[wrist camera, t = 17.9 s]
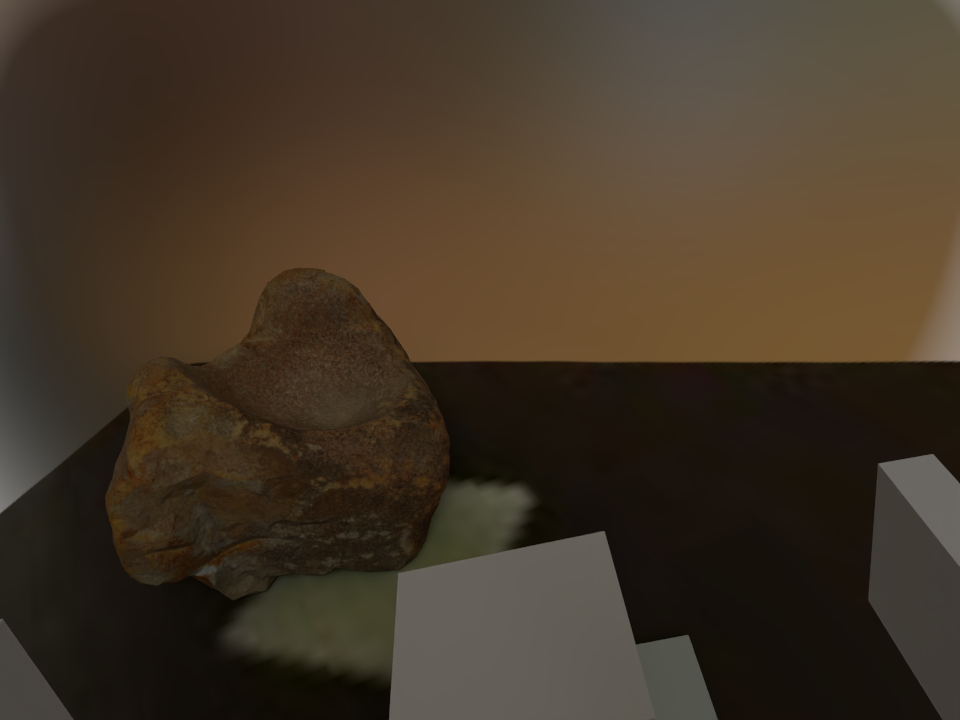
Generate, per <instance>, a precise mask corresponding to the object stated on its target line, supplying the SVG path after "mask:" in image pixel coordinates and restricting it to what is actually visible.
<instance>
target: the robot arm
mask: <svg viewBox="0 0 960 720" xmlns="http://www.w3.org/2000/svg"><path fill="white" fill-rule="evenodd" d="M868 600H869V602H870V604H871V605H872V607H873V608H874V610H875V612H876V613H877V615H878V616H879V618H880V620H881V621H882V623H883V624H884V626H885V628H886V629H887V631H888V633H889V634H890V636H891V637H892V639H893V641H894V642H895V644H896V645H897V647H898V649H899V650H900V652H901V653H902V655H903V657H904V658H905V660H906V662H907V663H908V665H909V666H910V668H911V670H912V671H913V673H914V674H915V676H916V678H917V679H918V681H919V682H920V684H921V686H922V687H923V689H924V690H925V692H926V694H927V695H928V697H929V699H930V700H931V702H932V703H933V705H934V707H935V708H936V710H937V711H938V713H939V715H940V716H941V718H942V719H943V720H960V483H959V482H958V481H957V480H956V479H955V478H954V477H953V476H952V475H951V474H950V472H949V471H948V470H947V469H946V468H945V467H944V466H943V465H942V464H941V463H940V461H939V460H938V459H937V458H936V457H935V456H934V455H933V454H931V455H925V456H920V457H914V458H908V459H903V460H897V461H891V462H886V463H880V464H878V475H877V488H876V502H875V516H874V529H873V543H872V557H871V570H870V584H869V598H868ZM0 720H73V718H72V717H71V715H70V714H69V713H68V711H67V710H66V708H65V707H64V705H63V704H62V703H61V701H60V700H59V698H58V697H57V696H56V694H55V693H54V691H53V690H52V688H51V687H50V686H49V684H48V683H47V681H46V680H45V678H44V677H43V676H42V674H41V673H40V671H39V670H38V669H37V667H36V666H35V664H34V663H33V661H32V660H31V659H30V657H29V656H28V654H27V653H26V651H25V650H24V649H23V647H22V646H21V644H20V643H19V641H18V640H17V639H16V637H15V636H14V634H13V633H12V632H11V630H10V629H9V627H8V626H7V624H6V623H5V622H4V620H3V619H0Z"/></svg>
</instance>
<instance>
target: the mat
mask: <svg viewBox="0 0 960 720" xmlns="http://www.w3.org/2000/svg"><path fill="white" fill-rule="evenodd" d="M636 648H637V652H638V655H639V659H640V663H641V666H642V670H643V674H644V677H645V681H646V684H647V688H648V692H649V695H650V699H651V703H652V706H653V710H654V714H655V717H656V720H718V719H717V716H716V714H715V711H714V708H713V705H712V702H711V699H710V696H709V693H708V690H707V688H706V685H705V682H704V679H703V676H702V673H701V670H700V667H699V664H698V661H697V659H696V656H695V653H694V650H693V647H692V644H691V641H690V638H689V635H685V636H680V637H674V638H669V639H664V640H659V641H653V642H648V643H643V644H638V645H636Z"/></svg>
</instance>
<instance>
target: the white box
mask: <svg viewBox="0 0 960 720" xmlns="http://www.w3.org/2000/svg"><path fill="white" fill-rule="evenodd" d="M389 720H656V717H655V714H654V710H653V706H652V703H651V699H650V695H649V692H648V688H647V684H646V681H645V677H644V674H643V670H642V666H641V663H640V659H639V655H638V652H637V648H636V644H635V641H634V637H633V633H632V630H631V626H630V622H629V619H628V615H627V612H626V608H625V604H624V601H623V597H622V593H621V590H620V586H619V582H618V579H617V575H616V571H615V568H614V564H613V560H612V557H611V553H610V549H609V546H608V542H607V539H606V535H605V531H602V532H597V533H593V534H588V535H583V536H578V537H573V538H568V539H563V540H558V541H553V542H548V543H544V544H539V545H534V546H529V547H524V548H519V549H514V550H509V551H504V552H499V553H495V554H490V555H485V556H480V557H475V558H470V559H465V560H460V561H455V562H450V563H446V564H441V565H436V566H431V567H426V568H421V569H416V570H411V571H406V572H401V573H398V584H397V600H396V617H395V633H394V649H393V665H392V681H391V697H390V713H389Z"/></svg>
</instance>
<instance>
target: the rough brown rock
mask: <svg viewBox="0 0 960 720" xmlns="http://www.w3.org/2000/svg"><path fill="white" fill-rule="evenodd" d="M125 396H126V400H127V404H128V407H129V411H130V423H129V427H128V431H127V435H126V439H125V443H124V446H123V448H122V451H121V453H120V455H119V457H118V460H117V462H116V464H115V469H114V474H113V478H112V481H111V483H110V486H109V488H108V491H107V494H106V496H105V501H106V510H107V514H108V517H109V521H110V523H111V526H112V531H113V542H114V545H115V548H116V551H117V554H118V555H119V558H120V561H121V563H122V566H123V568H124V569H125V571H126V572H127V573H128V574H129V576H130V577H131V578H133V579H134V580H136V581H138V582H139V583H142V584H149V585H155V586H158V585H161V584H165V583H175V582H178V581H180V580H183V579H185V578H187V577H189V576H192V577H193V578H195V579H197V580H199V581H201V582H203V583H204V584H206V585H208V586H210V587H211V588H214V589H216V590H219V591H220V592H221V593H222V594H224V595H225V596H227V597H228V598H230V599H232V600H235V599H238V598H240V597H242V596H246V595H250V594H255V593H259V592H263V591H266V590H267V588H268V587H269V586H270V584H271V583H272V581H273V580H274V579H275V577H277V576H278V575H283V574H288V573H298V574H303V575H323V574H326V573H328V572H331V571H333V570H335V569H336V568H340V569H346V570H359V571H368V572H374V571H386V570H400V569H401V568H402V567H404V566H405V565H406V564H407V563H408V562H410V561H411V560H412V559H413V558H414V557H415V556H416V555H417V553H418V552H419V550H420V548H421V547H422V545H423V543H424V542H425V540H426V537H427V533H428V529H429V525H430V521H431V518H432V516H433V514H434V512H435V510H436V508H437V506H438V504H439V500H440V497H441V495H442V493H443V491H444V490H445V488H446V484H447V481H448V477H449V468H450V453H449V450H450V440H449V435H448V432H447V429H446V426H445V422H444V419H443V417H442V414H441V412H440V410H439V408H438V405H437V403H436V400H435V397H434V396H433V395H432V394H431V392H430V390H429V388H428V386H427V384H426V382H425V381H424V379H423V378H422V377H421V375H420V374H419V372H418V371H417V370H416V369H415V368H414V367H413V365H412V364H411V362H410V360H409V357H408V355H407V353H406V352H405V351H404V349H403V348H402V346H401V344H400V343H399V342H398V340H397V339H396V337H395V336H394V334H393V332H392V331H391V329H390V328H389V327H388V326H387V325H386V323H385V322H384V321H383V320H382V319H381V318H380V317H379V316H378V315H377V314H376V313H375V312H374V310H373V308H372V307H371V305H370V304H369V303H368V301H367V300H366V299H365V298H364V296H363V295H362V294H361V292H360V291H359V289H358V288H357V287H355V286H354V285H352V284H351V283H350V282H349V281H347V280H346V279H344V278H341V277H339V276H336V275H333V274H330V273H327V272H325V271H324V270H321V269H313V268H295V269H291V270H286V271H283V272H282V273H281V274H279V275H278V276H276V277H275V278H274V279H272V280H271V281H270V282H268V283H267V285H266V287H265V289H264V291H263V293H262V295H261V297H260V299H259V301H258V304H257V307H256V311H255V314H254V317H253V321H252V325H251V329H250V331H249V333H248V334H247V335H246V337H245V338H244V340H243V341H242V342H241V343H240V344H238V345H236V346H234V347H232V348H230V349H229V350H227V351H225V352H223V353H222V354H220V355H219V356H217V358H215V359H214V360H213V361H211V362H209V363H207V364H205V365H203V366H200V367H197V366H191V365H189V364H187V363H184V362H182V361H179V360H177V359H175V358H168V357H159V358H156V359H153V360H151V361H149V362H147V363H145V364H143V365H141V366H140V367H139V368H138V370H136V372H135V373H134V374H133V376H132V377H131V378H130V380H129V383H128V386H127V390H126V393H125Z"/></svg>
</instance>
